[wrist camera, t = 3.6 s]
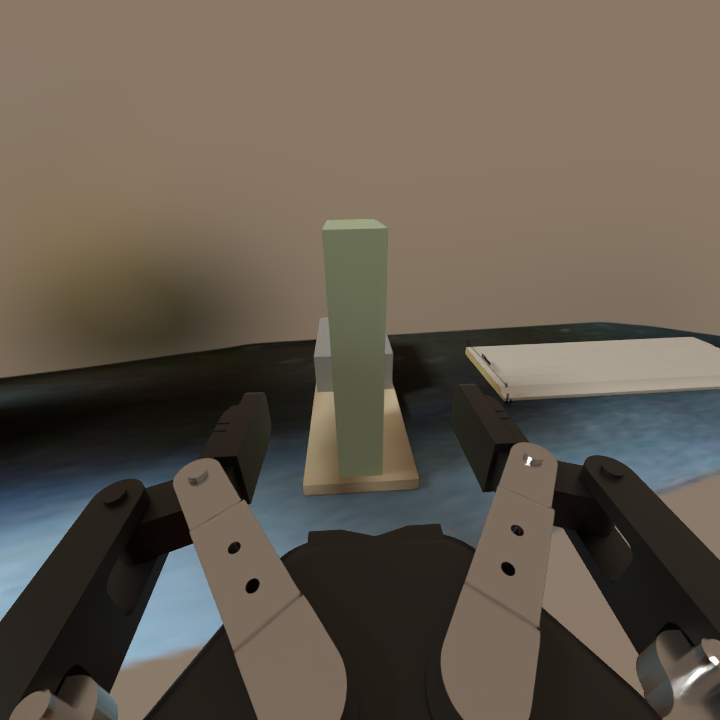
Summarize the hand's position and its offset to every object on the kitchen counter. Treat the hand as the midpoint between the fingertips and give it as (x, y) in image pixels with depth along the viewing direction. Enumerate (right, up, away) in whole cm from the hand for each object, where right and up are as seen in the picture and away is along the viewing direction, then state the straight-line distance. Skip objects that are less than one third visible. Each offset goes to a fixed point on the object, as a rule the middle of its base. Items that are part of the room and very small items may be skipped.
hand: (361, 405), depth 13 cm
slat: (0, -5, +11) cm, 12 cm away
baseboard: (+29, 0, +23) cm, 37 cm away
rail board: (0, -2, +18) cm, 18 cm away
